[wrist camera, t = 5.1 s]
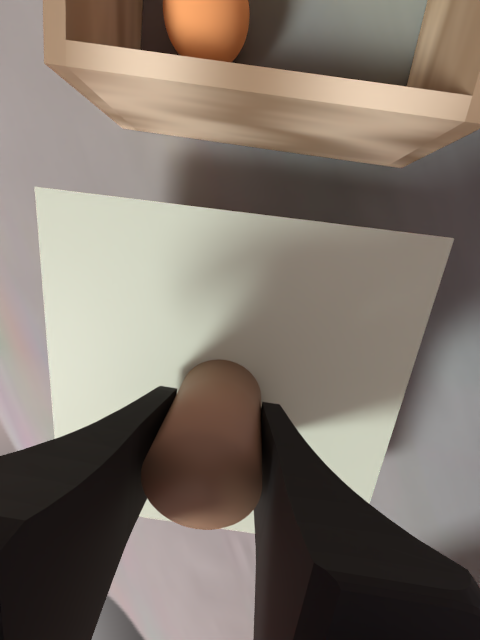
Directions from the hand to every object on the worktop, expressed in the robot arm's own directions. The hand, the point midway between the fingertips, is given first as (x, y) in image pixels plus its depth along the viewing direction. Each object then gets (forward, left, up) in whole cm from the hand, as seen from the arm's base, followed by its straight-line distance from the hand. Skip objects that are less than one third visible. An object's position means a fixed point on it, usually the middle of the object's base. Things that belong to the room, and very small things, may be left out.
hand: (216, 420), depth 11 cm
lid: (0, -1, -1) cm, 1 cm away
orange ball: (+2, -14, -5) cm, 15 cm away
